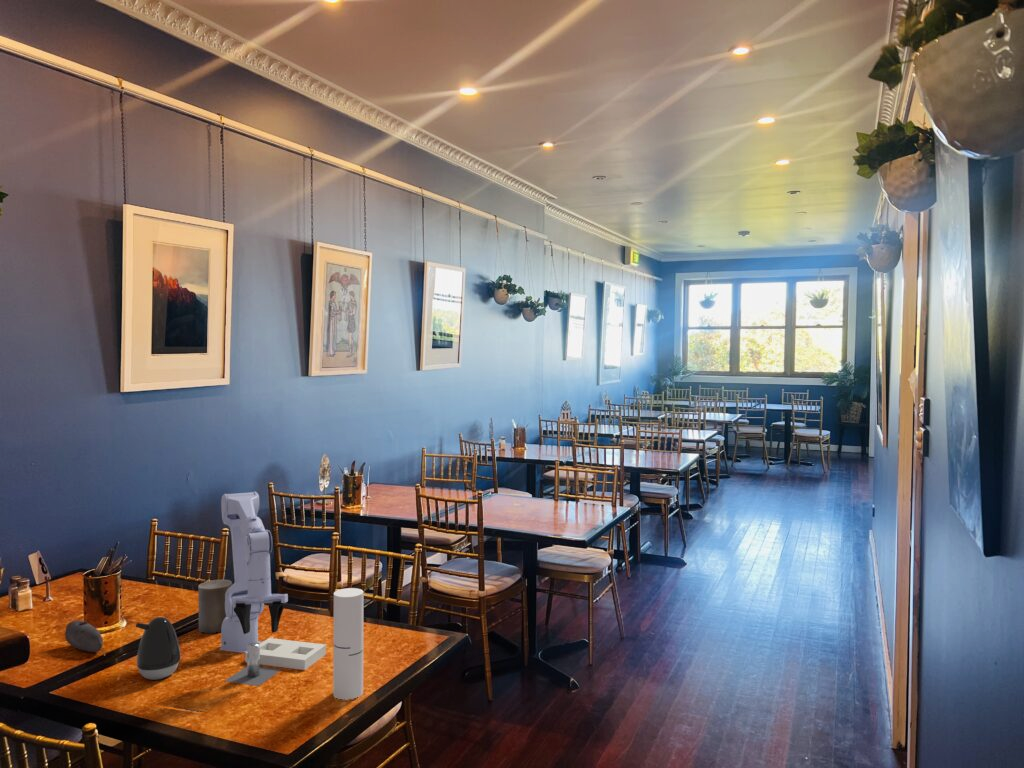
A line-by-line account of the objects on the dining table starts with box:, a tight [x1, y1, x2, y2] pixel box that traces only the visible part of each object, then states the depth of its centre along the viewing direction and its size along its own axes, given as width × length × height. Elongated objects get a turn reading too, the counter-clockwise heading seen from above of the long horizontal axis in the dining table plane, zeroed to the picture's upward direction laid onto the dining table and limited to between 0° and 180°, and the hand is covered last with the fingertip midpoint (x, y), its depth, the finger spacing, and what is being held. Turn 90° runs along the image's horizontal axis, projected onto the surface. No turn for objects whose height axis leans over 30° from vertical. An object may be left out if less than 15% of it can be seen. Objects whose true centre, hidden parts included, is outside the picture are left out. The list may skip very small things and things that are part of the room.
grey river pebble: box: [64, 620, 104, 653], centre depth 200 cm, size 15×5×7 cm, turn 57°
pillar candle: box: [197, 579, 233, 634], centre depth 218 cm, size 10×10×15 cm
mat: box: [224, 666, 282, 687], centre depth 184 cm, size 10×10×1 cm
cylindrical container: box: [332, 587, 365, 701], centre depth 174 cm, size 7×7×25 cm
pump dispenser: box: [135, 616, 182, 681], centre depth 184 cm, size 10×10×15 cm
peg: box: [246, 642, 261, 678], centre depth 184 cm, size 3×3×8 cm
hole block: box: [244, 637, 327, 671], centre depth 195 cm, size 18×11×3 cm, turn 75°
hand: (260, 632), depth 184 cm, fingers open, 7 cm apart
